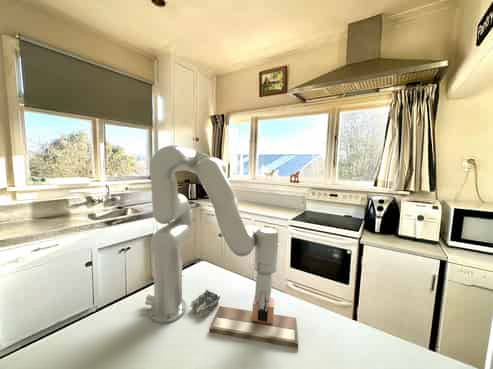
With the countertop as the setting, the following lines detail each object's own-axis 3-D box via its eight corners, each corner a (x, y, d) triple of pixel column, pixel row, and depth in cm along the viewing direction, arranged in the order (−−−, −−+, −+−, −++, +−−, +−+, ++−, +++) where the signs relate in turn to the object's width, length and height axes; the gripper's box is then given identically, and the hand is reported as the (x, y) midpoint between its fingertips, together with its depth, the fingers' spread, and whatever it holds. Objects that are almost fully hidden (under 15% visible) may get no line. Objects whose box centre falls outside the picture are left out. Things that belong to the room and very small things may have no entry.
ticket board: (209, 332, 69) (209, 326, 69) (219, 309, 80) (219, 304, 79) (297, 348, 64) (298, 341, 64) (295, 321, 75) (296, 315, 75)
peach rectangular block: (252, 320, 72) (252, 304, 72) (254, 310, 77) (254, 295, 77) (272, 324, 71) (273, 307, 71) (273, 313, 76) (274, 298, 76)
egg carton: (204, 320, 74) (204, 309, 74) (188, 312, 78) (188, 302, 78) (222, 303, 84) (222, 293, 83) (207, 296, 87) (207, 287, 87)
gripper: (257, 253, 81) (255, 297, 83) (250, 276, 65) (248, 331, 66) (277, 255, 80) (275, 300, 82) (275, 279, 63) (272, 335, 65)
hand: (263, 313), depth 74 cm, fingers closed on peach rectangular block, 5 cm apart
